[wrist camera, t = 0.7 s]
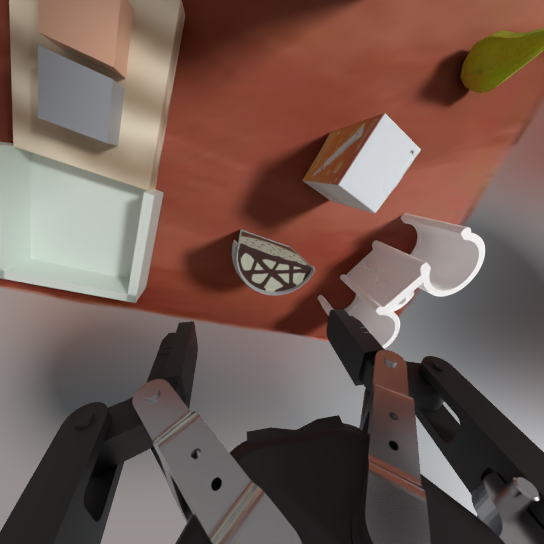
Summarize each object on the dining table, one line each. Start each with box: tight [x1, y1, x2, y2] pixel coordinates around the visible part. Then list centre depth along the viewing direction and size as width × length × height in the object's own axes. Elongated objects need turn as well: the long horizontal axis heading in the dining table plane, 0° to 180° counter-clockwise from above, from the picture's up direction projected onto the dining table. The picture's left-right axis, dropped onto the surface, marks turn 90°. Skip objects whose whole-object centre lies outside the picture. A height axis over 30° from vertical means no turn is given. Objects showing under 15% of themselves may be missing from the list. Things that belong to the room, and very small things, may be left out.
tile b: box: [38, 45, 125, 146], centre depth 24 cm, size 6×6×3 cm
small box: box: [302, 113, 421, 213], centre depth 30 cm, size 8×6×13 cm
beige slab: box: [9, 0, 185, 191], centre depth 25 cm, size 20×14×3 cm
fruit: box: [460, 29, 544, 93], centre depth 28 cm, size 6×6×12 cm
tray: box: [0, 142, 164, 303], centre depth 30 cm, size 16×16×5 cm
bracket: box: [318, 213, 485, 349], centre depth 40 cm, size 25×10×12 cm, turn 134°
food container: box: [232, 230, 315, 295], centre depth 35 cm, size 12×6×10 cm, turn 67°
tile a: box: [38, 0, 134, 78], centre depth 21 cm, size 6×6×3 cm
